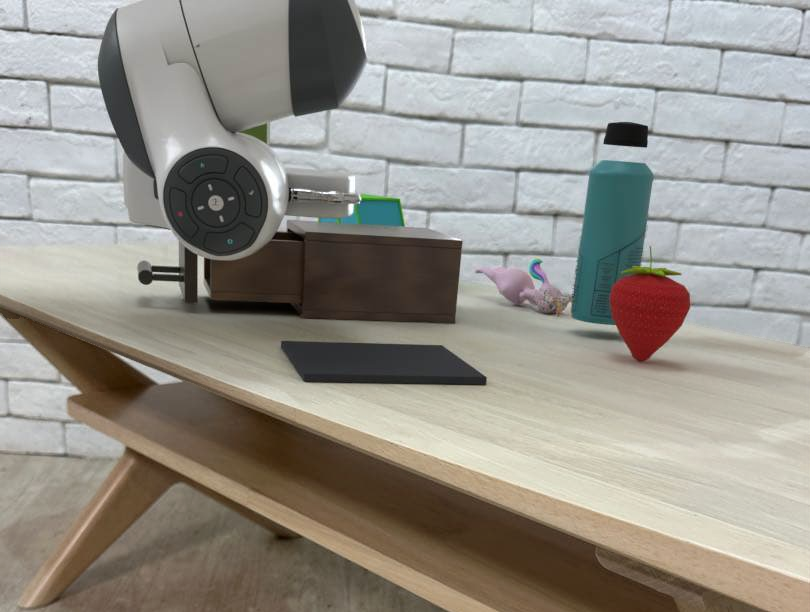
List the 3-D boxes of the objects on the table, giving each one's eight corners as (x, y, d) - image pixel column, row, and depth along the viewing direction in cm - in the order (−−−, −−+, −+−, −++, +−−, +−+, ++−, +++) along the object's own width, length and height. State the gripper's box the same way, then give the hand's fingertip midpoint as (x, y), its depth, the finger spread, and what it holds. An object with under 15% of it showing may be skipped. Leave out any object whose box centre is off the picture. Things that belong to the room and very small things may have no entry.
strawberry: (654, 373, 85) (674, 252, 81) (585, 355, 90) (602, 240, 86) (693, 367, 89) (715, 251, 85) (626, 351, 94) (643, 240, 90)
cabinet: (302, 318, 97) (305, 231, 94) (284, 297, 108) (286, 219, 105) (455, 323, 101) (462, 240, 98) (422, 302, 112) (428, 228, 109)
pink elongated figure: (582, 326, 113) (495, 285, 123) (596, 275, 111) (506, 236, 120) (544, 329, 110) (457, 286, 119) (557, 276, 107) (468, 236, 116)
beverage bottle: (617, 343, 97) (651, 122, 90) (555, 332, 100) (583, 117, 93) (640, 335, 102) (674, 126, 95) (580, 325, 106) (609, 122, 98)
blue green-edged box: (385, 291, 118) (391, 203, 114) (309, 275, 126) (313, 192, 123) (441, 287, 125) (448, 204, 122) (366, 273, 133) (371, 194, 130)
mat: (303, 381, 72) (304, 373, 72) (280, 347, 83) (280, 340, 83) (486, 384, 76) (487, 377, 76) (441, 351, 86) (442, 345, 86)
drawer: (138, 301, 93) (137, 231, 91) (137, 283, 103) (136, 220, 101) (335, 308, 98) (338, 242, 96) (315, 291, 108) (318, 230, 106)
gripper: (364, 159, 81) (358, 156, 94) (107, 138, 79) (136, 137, 92) (359, 240, 83) (354, 226, 96) (109, 221, 81) (138, 209, 94)
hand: (246, 182), depth 94 cm, fingers open, 8 cm apart
